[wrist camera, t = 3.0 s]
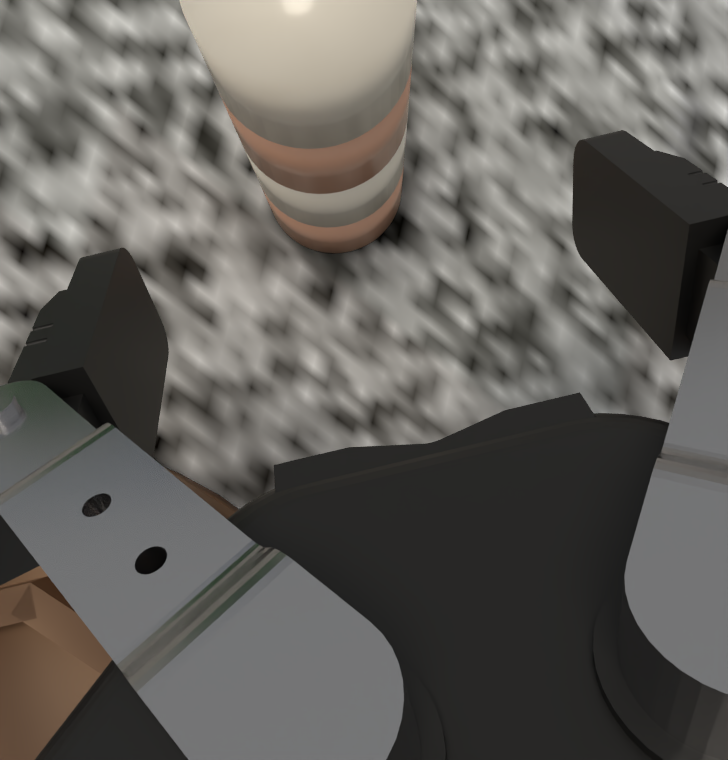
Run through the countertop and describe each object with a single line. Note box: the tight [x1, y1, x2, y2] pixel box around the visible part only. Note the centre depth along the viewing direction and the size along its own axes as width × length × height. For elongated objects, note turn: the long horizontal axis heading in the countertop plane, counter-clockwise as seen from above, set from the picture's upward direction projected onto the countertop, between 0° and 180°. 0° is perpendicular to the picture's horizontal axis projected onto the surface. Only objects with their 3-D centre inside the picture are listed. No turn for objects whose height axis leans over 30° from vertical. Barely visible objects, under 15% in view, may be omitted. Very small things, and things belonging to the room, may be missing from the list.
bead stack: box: [179, 0, 417, 253], centre depth 17 cm, size 4×4×10 cm
